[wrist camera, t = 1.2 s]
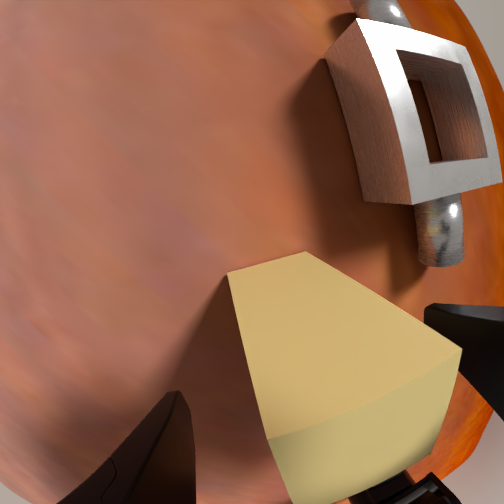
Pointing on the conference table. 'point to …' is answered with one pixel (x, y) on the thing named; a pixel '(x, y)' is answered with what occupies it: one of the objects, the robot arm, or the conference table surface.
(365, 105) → the bracket head
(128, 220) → the conference table surface
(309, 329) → the butter yellow block
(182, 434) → the robot arm
